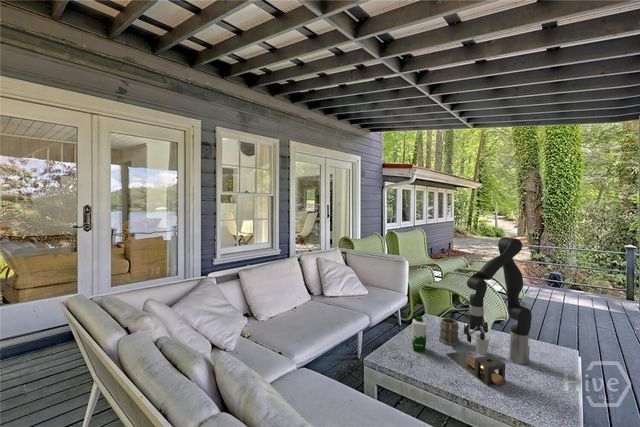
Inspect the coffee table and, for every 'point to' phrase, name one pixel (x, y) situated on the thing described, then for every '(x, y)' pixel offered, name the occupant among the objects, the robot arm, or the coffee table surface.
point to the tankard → (449, 331)
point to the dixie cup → (481, 344)
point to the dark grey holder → (487, 361)
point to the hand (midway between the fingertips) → (475, 340)
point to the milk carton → (419, 334)
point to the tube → (494, 376)
